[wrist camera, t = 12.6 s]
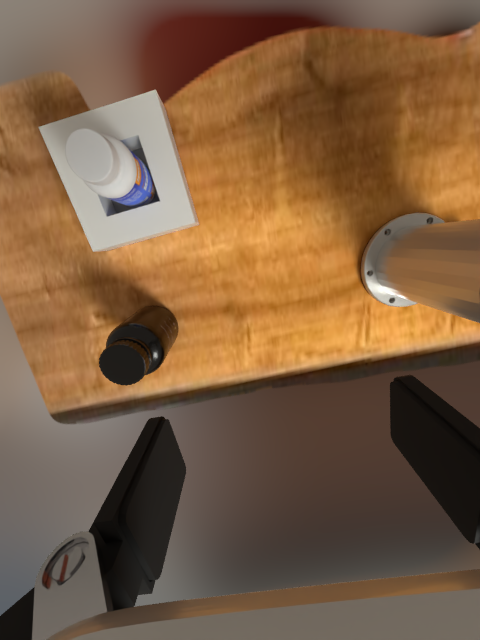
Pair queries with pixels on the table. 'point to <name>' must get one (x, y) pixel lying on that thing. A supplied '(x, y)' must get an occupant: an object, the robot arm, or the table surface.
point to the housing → (151, 148)
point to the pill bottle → (109, 168)
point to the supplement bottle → (138, 345)
